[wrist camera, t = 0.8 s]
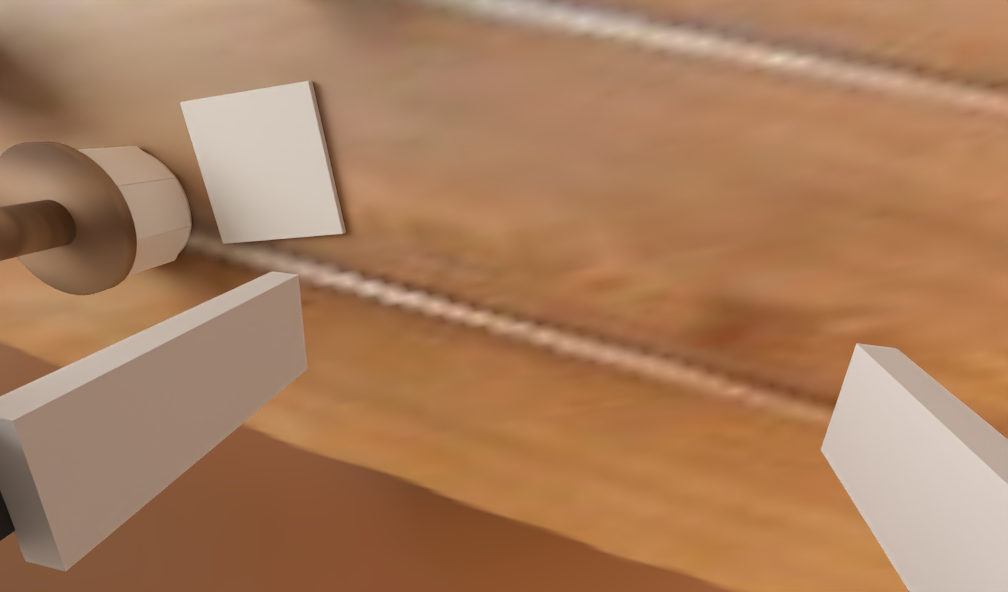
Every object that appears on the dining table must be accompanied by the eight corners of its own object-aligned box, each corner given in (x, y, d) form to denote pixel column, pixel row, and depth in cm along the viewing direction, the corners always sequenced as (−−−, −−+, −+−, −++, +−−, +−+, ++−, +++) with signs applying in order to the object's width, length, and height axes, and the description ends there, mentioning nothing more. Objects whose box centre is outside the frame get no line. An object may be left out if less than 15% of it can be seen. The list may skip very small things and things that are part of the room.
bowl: (76, 154, 45) (-6, 160, 39) (169, 141, 43) (97, 145, 37) (117, 264, 49) (48, 284, 43) (206, 257, 46) (146, 277, 40)
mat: (185, 102, 42) (179, 102, 41) (312, 81, 39) (308, 81, 38) (227, 242, 45) (223, 243, 45) (346, 232, 43) (342, 233, 42)
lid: (-18, 151, 39) (-190, 160, 31) (102, 132, 37) (-51, 137, 28) (45, 293, 43) (-94, 337, 35) (157, 286, 40) (37, 331, 32)
